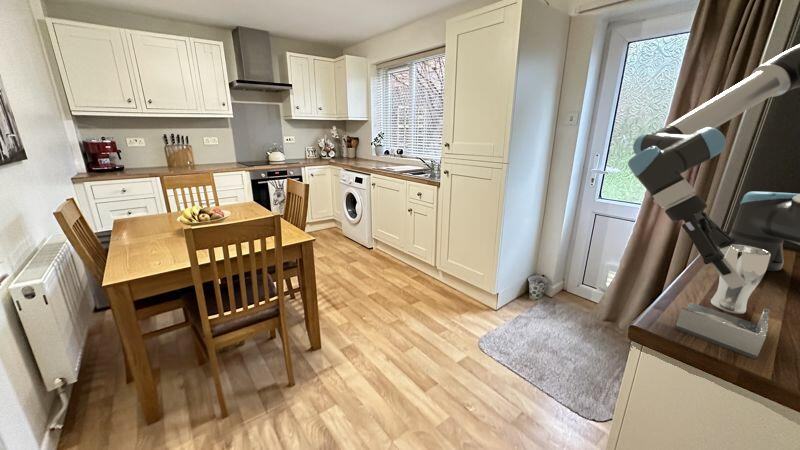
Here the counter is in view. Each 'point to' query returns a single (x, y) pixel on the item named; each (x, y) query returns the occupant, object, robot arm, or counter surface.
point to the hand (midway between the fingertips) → (742, 278)
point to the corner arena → (724, 329)
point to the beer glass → (750, 268)
